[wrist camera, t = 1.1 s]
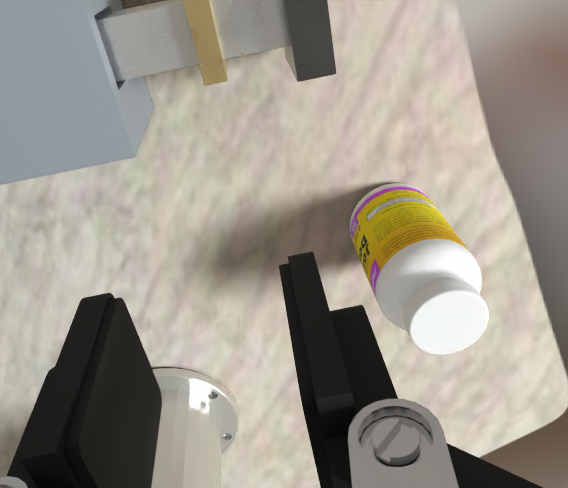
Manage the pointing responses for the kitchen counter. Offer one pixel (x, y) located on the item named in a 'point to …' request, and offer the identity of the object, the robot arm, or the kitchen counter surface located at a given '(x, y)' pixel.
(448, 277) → the supplement bottle
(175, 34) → the shaft
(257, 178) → the kitchen counter surface
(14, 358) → the kitchen counter surface
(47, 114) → the housing
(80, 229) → the kitchen counter surface
